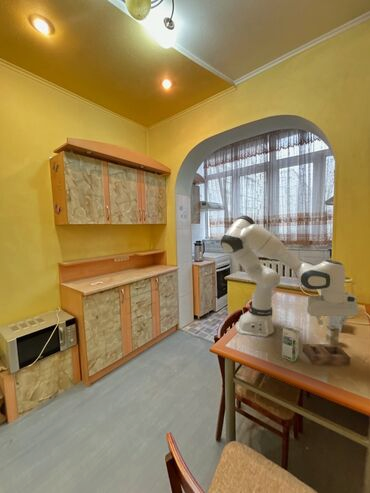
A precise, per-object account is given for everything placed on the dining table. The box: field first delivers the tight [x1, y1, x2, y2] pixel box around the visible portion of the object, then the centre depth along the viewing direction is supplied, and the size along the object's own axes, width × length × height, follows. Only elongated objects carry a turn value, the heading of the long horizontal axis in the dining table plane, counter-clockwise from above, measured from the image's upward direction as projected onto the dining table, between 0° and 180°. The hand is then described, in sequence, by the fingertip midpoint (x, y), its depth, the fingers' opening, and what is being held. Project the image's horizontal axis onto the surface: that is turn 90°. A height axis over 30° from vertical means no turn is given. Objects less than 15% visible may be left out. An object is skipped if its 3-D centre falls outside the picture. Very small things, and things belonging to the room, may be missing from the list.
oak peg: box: [325, 324, 340, 346], centre depth 116 cm, size 4×4×9 cm
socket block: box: [302, 343, 351, 366], centre depth 104 cm, size 16×10×4 cm, turn 84°
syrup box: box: [281, 325, 300, 363], centre depth 105 cm, size 6×6×14 cm
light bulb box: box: [327, 316, 344, 333], centre depth 131 cm, size 11×7×11 cm, turn 141°
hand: (331, 324), depth 101 cm, fingers open, 8 cm apart
